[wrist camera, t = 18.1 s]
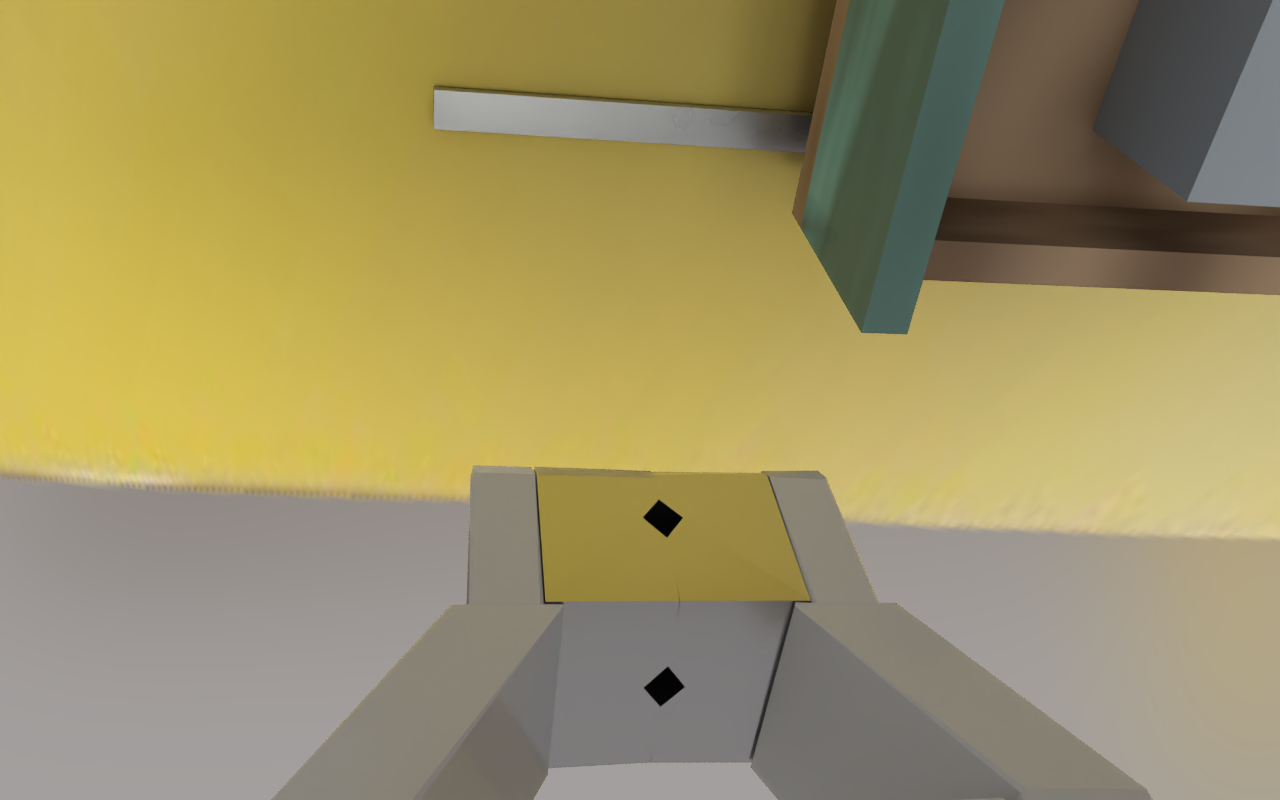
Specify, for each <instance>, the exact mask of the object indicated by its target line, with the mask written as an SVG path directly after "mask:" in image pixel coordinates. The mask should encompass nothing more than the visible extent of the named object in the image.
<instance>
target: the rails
mask: <svg viewBox="0 0 1280 800" xmlns="http://www.w3.org/2000/svg"><path fill="white" fill-rule="evenodd" d="M812 116H813V113H806V112H792V111H777V110H763V109H749V108H734V107H720V106H706V105H692V104H677V103H663V102H649V101H634V100H620V99H606V98H592V97H577V96H563V95H549V94H535V93H520V92H506V91H492V90H477V89H463V88H449V87H435V86H434V129H438V130H454V131H470V132H486V133H501V134H517V135H533V136H549V137H565V138H580V139H596V140H612V141H628V142H644V143H659V144H675V145H691V146H707V147H723V148H738V149H754V150H770V151H786V152H802V153H805V149H806V145H807V140H808V135H809V130H810V126H811V121H812Z"/></svg>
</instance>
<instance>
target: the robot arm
mask: <svg viewBox="0 0 1280 800" xmlns="http://www.w3.org/2000/svg"><path fill="white" fill-rule="evenodd" d="M648 762H752V764H751V768H752V769H753V770H754V772H755V773H756V774H757V775H758V776H759V778H760V779H761V780H762V781H763V782H764V783H765V785H766V786H767V787H768V788H769V789H770V791H771V792H772V793H773V794H774V795H775V796H776V798H777V799H778V800H1152V798H1151V796H1150V794H1149V793H1148V791H1147V789H1145V788H1144V787H1143V786H1141V785H1140V784H1139V783H1137V782H1136V781H1135V780H1133V779H1132V778H1130V777H1129V776H1128V775H1127V774H1125V773H1124V772H1123V771H1121V770H1120V769H1118V768H1117V767H1116V766H1114V765H1113V764H1112V763H1110V762H1109V761H1108V760H1106V759H1105V758H1104V757H1102V756H1101V755H1100V754H1098V753H1097V752H1096V751H1094V750H1093V749H1092V748H1090V747H1089V746H1088V745H1086V744H1085V743H1084V742H1082V741H1081V740H1079V739H1078V738H1077V737H1076V736H1074V735H1073V734H1071V733H1070V732H1069V731H1067V730H1066V729H1065V728H1064V727H1062V726H1061V725H1059V724H1058V723H1057V722H1055V721H1054V720H1053V719H1051V718H1050V717H1049V716H1047V715H1046V714H1045V713H1043V712H1042V711H1041V710H1039V709H1038V708H1037V707H1035V706H1034V705H1032V704H1031V703H1030V702H1029V701H1027V700H1026V699H1025V698H1023V697H1022V696H1020V695H1019V694H1018V693H1016V692H1015V691H1014V690H1012V689H1011V688H1010V687H1008V686H1007V685H1006V684H1004V683H1003V682H1002V681H1000V680H999V679H998V678H996V677H995V676H993V675H992V674H991V673H990V672H988V671H987V670H986V669H984V668H983V667H981V666H980V665H979V664H977V663H976V662H975V661H973V660H972V659H971V658H969V657H968V656H967V655H965V654H964V653H963V652H961V651H960V650H959V649H957V648H956V647H955V646H953V645H952V644H951V643H949V642H948V641H947V640H945V639H944V638H942V637H941V636H940V635H938V634H937V633H936V632H934V631H933V630H932V629H930V628H929V627H928V626H926V625H925V624H924V623H922V622H921V621H920V620H918V619H917V618H915V617H914V616H913V615H912V614H910V613H909V612H908V611H906V610H905V609H903V608H902V607H901V606H900V605H898V604H897V603H879V601H878V599H877V596H876V594H875V592H874V590H873V587H872V585H871V582H870V580H869V578H868V575H867V573H866V571H865V568H864V566H863V564H862V561H861V559H860V557H859V554H858V552H857V550H856V547H855V545H854V543H853V540H852V538H851V535H850V533H849V531H848V528H847V526H846V524H845V521H844V519H843V517H842V514H841V512H840V510H839V507H838V505H837V503H836V500H835V498H834V496H833V493H832V491H831V489H830V486H829V484H828V482H827V479H826V477H825V476H823V475H822V474H821V473H820V472H818V471H762V472H761V473H707V472H651V471H632V470H606V469H579V468H552V467H534V471H533V470H532V468H531V467H506V466H473V468H472V473H471V485H470V514H469V544H468V573H467V603H466V605H450V606H449V607H448V608H447V609H446V610H445V611H444V613H443V614H442V615H441V616H440V617H439V618H438V619H437V620H436V621H435V622H434V623H433V625H432V626H431V627H430V628H429V629H428V630H427V631H426V632H425V633H424V634H423V635H422V637H421V638H420V639H419V640H418V641H417V642H416V643H415V644H414V645H413V646H412V647H411V649H410V650H409V651H408V652H407V653H406V654H405V655H404V656H403V657H402V658H401V659H400V660H399V662H398V663H397V664H396V665H395V666H394V667H393V668H392V669H391V670H390V671H389V672H388V673H387V675H386V676H385V677H384V678H383V679H382V680H381V681H380V682H379V683H378V685H377V686H376V687H375V688H374V689H373V690H372V691H371V692H370V693H369V694H368V695H367V696H366V697H365V699H364V700H363V701H362V702H361V703H360V704H359V705H358V706H357V707H356V708H355V709H354V711H353V712H352V713H351V714H350V715H349V716H348V717H347V718H346V719H345V720H344V721H343V723H342V724H341V725H340V726H339V727H338V728H337V729H336V730H335V732H333V733H332V734H331V736H330V737H329V738H328V739H327V740H326V741H325V742H324V743H323V745H321V747H320V748H319V749H318V750H317V751H316V752H315V753H314V754H313V755H312V756H311V757H310V758H309V760H308V761H307V762H306V763H305V764H304V765H303V766H302V767H301V768H300V769H299V770H298V772H297V773H296V774H295V775H294V776H293V777H292V778H291V779H290V780H289V781H288V783H287V784H286V785H285V786H284V787H283V788H282V789H281V790H280V791H279V792H278V793H277V794H276V795H275V797H274V798H273V799H272V800H533V799H534V797H535V795H536V794H537V792H538V790H539V789H540V787H541V785H542V783H543V781H544V780H545V778H546V776H547V775H548V768H559V767H577V766H595V765H612V764H628V763H629V764H630V763H648Z"/></svg>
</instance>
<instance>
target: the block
mask: <svg viewBox="0 0 1280 800" xmlns="http://www.w3.org/2000/svg"><path fill="white" fill-rule="evenodd" d="M1093 130H1094V131H1095V132H1096V133H1097V134H1099V135H1100V136H1101V137H1103V138H1104V139H1105V140H1107V141H1108V142H1109V143H1111V144H1112V145H1113V146H1114V147H1116V148H1117V149H1118V150H1120V151H1121V152H1122V153H1124V154H1125V155H1126V156H1128V157H1129V158H1130V159H1131V160H1133V161H1134V162H1135V163H1137V164H1138V165H1139V166H1141V167H1142V168H1143V169H1145V170H1146V171H1147V172H1149V173H1150V174H1151V175H1152V176H1154V177H1155V178H1156V179H1158V180H1159V181H1160V182H1162V183H1163V184H1164V185H1166V186H1167V187H1168V188H1169V189H1171V190H1172V191H1173V192H1175V193H1176V194H1177V195H1179V196H1180V197H1181V198H1183V199H1184V200H1185V201H1186V202H1200V203H1217V204H1234V205H1251V206H1268V207H1280V0H1139V2H1138V5H1137V8H1136V11H1135V13H1134V16H1133V19H1132V22H1131V24H1130V27H1129V30H1128V33H1127V36H1126V38H1125V41H1124V44H1123V47H1122V49H1121V52H1120V55H1119V58H1118V61H1117V63H1116V66H1115V69H1114V72H1113V74H1112V77H1111V80H1110V83H1109V85H1108V88H1107V91H1106V94H1105V97H1104V99H1103V102H1102V105H1101V108H1100V110H1099V113H1098V116H1097V119H1096V122H1095V124H1094V127H1093Z"/></svg>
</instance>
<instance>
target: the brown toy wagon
mask: <svg viewBox="0 0 1280 800" xmlns="http://www.w3.org/2000/svg"><path fill="white" fill-rule="evenodd" d="M1138 2H1139V0H837V2H836V6H835V11H834V16H833V21H832V25H831V30H830V35H829V40H828V44H827V49H826V54H825V59H824V64H823V68H822V73H821V78H820V83H819V87H818V92H817V97H816V102H815V106H814V111H813V116H812V121H811V126H810V130H809V135H808V140H807V145H806V149H805V154H804V159H803V164H802V169H801V173H800V178H799V183H798V188H797V192H796V197H795V202H794V207H793V211H792V214H793V216H794V217H795V219H796V221H797V222H798V224H799V226H800V228H801V229H802V231H803V233H804V234H805V236H806V238H807V240H808V241H809V243H810V245H811V247H812V248H813V250H814V252H815V253H816V255H817V257H818V259H819V260H820V262H821V264H822V265H823V267H824V269H825V271H826V272H827V274H828V276H829V278H830V279H831V281H832V283H833V284H834V286H835V288H836V290H837V291H838V293H839V295H840V297H841V298H842V300H843V302H844V303H845V305H846V307H847V309H848V310H849V312H850V314H851V315H852V317H853V319H854V321H855V322H856V324H857V326H858V328H859V329H860V331H861V333H886V334H907V332H908V329H909V326H910V322H911V319H912V315H913V312H914V309H915V305H916V302H917V298H918V295H919V292H920V288H921V285H922V281H923V280H939V281H963V282H986V283H1009V284H1033V285H1056V286H1079V287H1103V288H1126V289H1149V290H1173V291H1196V292H1220V293H1243V294H1266V295H1280V207H1268V206H1251V205H1234V204H1217V203H1200V202H1186V201H1185V200H1184V199H1183V198H1181V197H1180V196H1179V195H1177V194H1176V193H1175V192H1173V191H1172V190H1171V189H1169V188H1168V187H1167V186H1166V185H1164V184H1163V183H1162V182H1160V181H1159V180H1158V179H1156V178H1155V177H1154V176H1152V175H1151V174H1150V173H1149V172H1147V171H1146V170H1145V169H1143V168H1142V167H1141V166H1139V165H1138V164H1137V163H1135V162H1134V161H1133V160H1131V159H1130V158H1129V157H1128V156H1126V155H1125V154H1124V153H1122V152H1121V151H1120V150H1118V149H1117V148H1116V147H1114V146H1113V145H1112V144H1111V143H1109V142H1108V141H1107V140H1105V139H1104V138H1103V137H1101V136H1100V135H1099V134H1097V133H1096V132H1095V131H1094V130H1093V127H1094V124H1095V122H1096V119H1097V116H1098V113H1099V110H1100V108H1101V105H1102V102H1103V99H1104V97H1105V94H1106V91H1107V88H1108V85H1109V83H1110V80H1111V77H1112V74H1113V72H1114V69H1115V66H1116V63H1117V61H1118V58H1119V55H1120V52H1121V49H1122V47H1123V44H1124V41H1125V38H1126V36H1127V33H1128V30H1129V27H1130V24H1131V22H1132V19H1133V16H1134V13H1135V11H1136V8H1137V5H1138Z"/></svg>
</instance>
